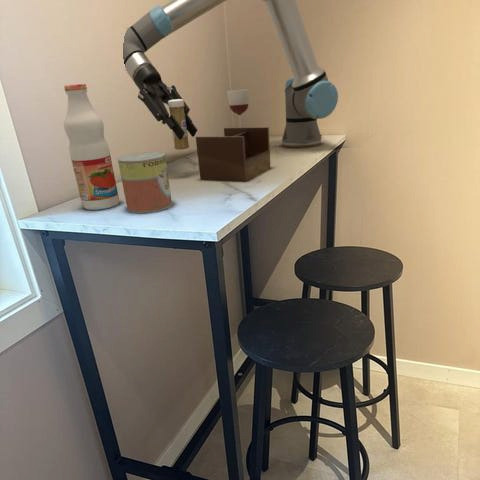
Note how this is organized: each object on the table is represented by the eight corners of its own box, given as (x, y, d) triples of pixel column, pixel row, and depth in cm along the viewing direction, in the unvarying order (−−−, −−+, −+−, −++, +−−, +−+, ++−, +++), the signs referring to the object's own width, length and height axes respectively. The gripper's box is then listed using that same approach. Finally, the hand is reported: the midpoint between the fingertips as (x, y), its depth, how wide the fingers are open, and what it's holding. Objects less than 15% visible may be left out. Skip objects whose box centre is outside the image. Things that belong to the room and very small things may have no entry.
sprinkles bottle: (185, 149, 138) (179, 100, 131) (172, 150, 139) (165, 100, 132) (191, 146, 141) (185, 98, 135) (178, 147, 143) (171, 99, 136)
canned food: (163, 212, 109) (155, 160, 104) (119, 213, 112) (109, 162, 106) (178, 199, 119) (171, 151, 113) (137, 200, 121) (128, 153, 115)
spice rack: (228, 167, 151) (225, 127, 146) (270, 168, 145) (268, 127, 139) (200, 179, 138) (195, 137, 132) (245, 181, 131) (242, 136, 125)
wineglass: (232, 143, 194) (228, 90, 184) (253, 142, 193) (250, 88, 183) (229, 146, 187) (225, 92, 178) (251, 145, 186) (247, 90, 176)
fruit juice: (97, 199, 125) (72, 84, 112) (127, 200, 122) (104, 82, 108) (75, 209, 118) (44, 87, 104) (105, 211, 114) (78, 84, 101)
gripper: (161, 81, 146) (204, 139, 144) (116, 87, 135) (161, 149, 133) (170, 61, 140) (214, 120, 138) (123, 65, 129) (170, 130, 127)
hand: (188, 134), depth 136 cm, fingers closed on sprinkles bottle, 4 cm apart
